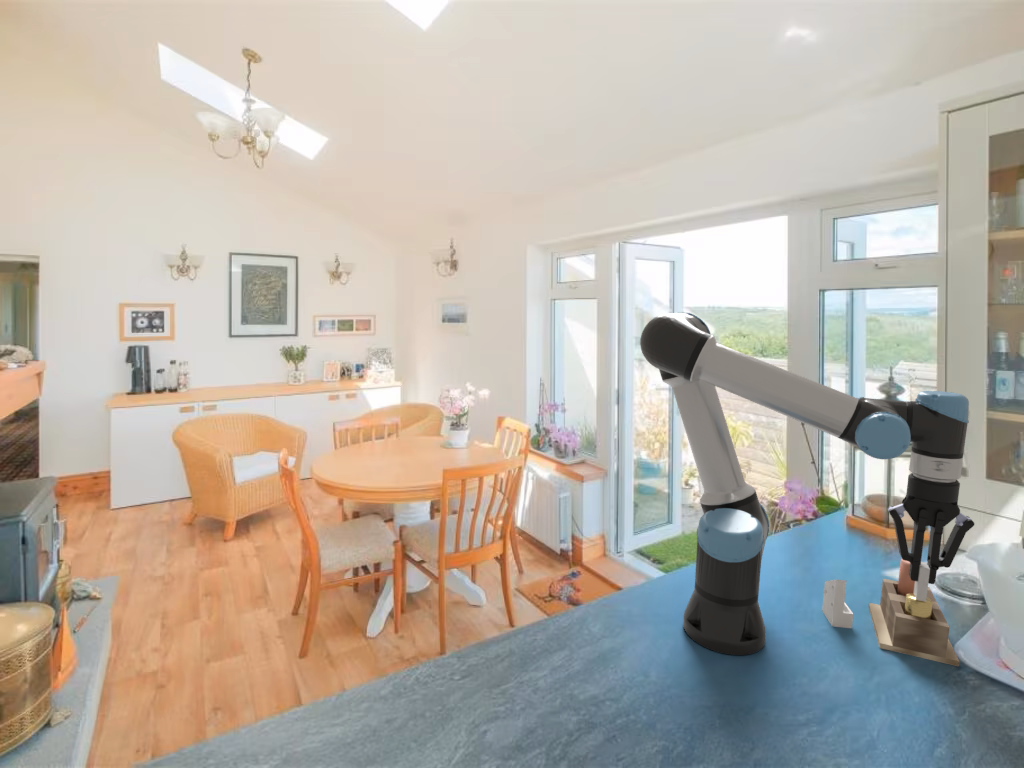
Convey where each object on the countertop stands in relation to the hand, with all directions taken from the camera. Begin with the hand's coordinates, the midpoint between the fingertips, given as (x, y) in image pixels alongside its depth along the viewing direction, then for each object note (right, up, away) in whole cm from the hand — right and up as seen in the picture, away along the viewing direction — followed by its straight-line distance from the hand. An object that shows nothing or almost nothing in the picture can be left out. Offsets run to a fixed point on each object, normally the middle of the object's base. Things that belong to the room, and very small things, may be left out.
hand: (919, 597), depth 104 cm
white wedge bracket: (-10, -9, +10) cm, 16 cm away
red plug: (+3, -4, +8) cm, 9 cm away
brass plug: (0, -8, +1) cm, 8 cm away
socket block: (+2, -9, +5) cm, 10 cm away
